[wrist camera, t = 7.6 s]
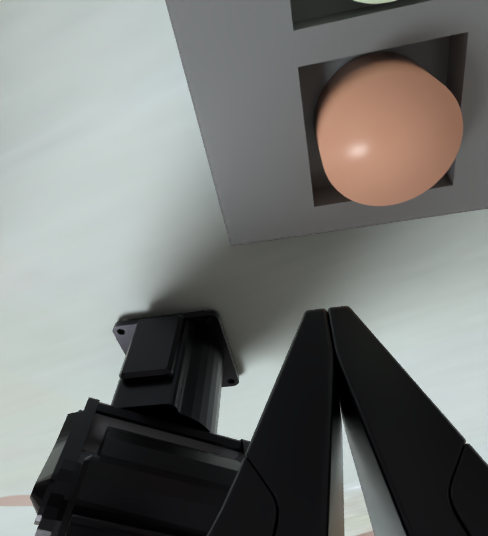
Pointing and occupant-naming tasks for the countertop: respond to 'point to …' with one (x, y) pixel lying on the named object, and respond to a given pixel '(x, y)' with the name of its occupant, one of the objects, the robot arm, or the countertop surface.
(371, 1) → the sage button
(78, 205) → the countertop surface
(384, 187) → the terracotta button
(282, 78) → the panel
